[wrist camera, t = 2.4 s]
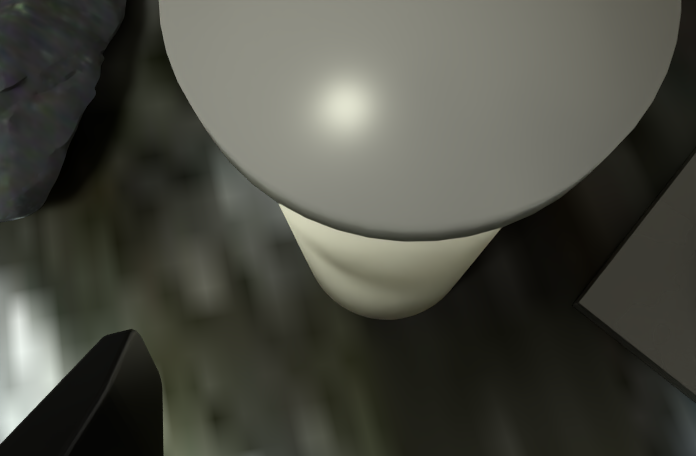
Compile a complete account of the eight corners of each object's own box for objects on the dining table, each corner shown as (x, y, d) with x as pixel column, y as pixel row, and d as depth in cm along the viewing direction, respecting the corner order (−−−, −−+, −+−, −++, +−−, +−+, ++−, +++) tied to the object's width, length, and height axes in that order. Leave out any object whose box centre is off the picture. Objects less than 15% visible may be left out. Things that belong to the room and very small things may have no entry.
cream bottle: (398, 374, 18) (457, 344, 6) (253, 248, 19) (52, 2, 7) (519, 228, 19) (784, -58, 7) (375, 115, 20) (384, -300, 8)
